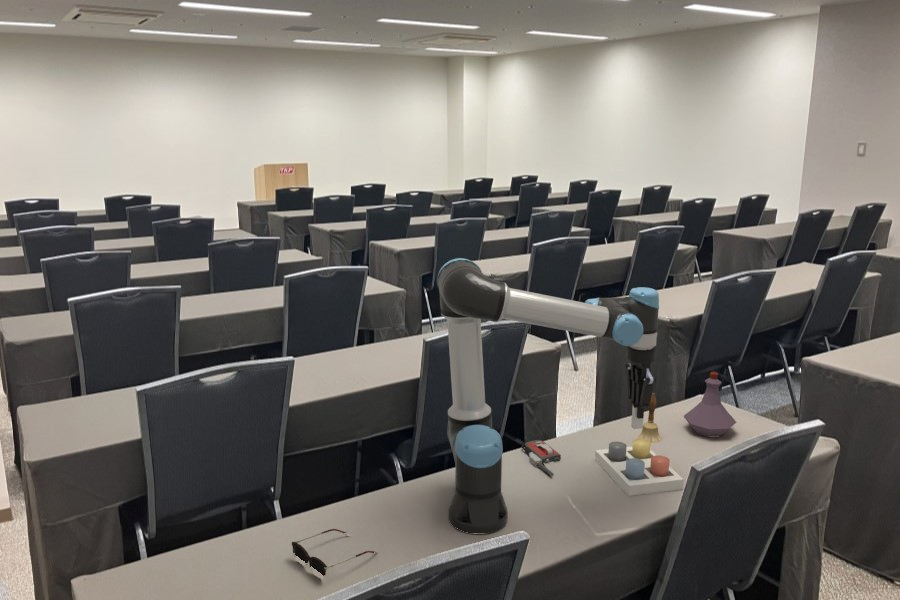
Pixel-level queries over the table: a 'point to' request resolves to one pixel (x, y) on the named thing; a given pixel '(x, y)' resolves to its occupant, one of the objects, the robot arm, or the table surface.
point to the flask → (710, 411)
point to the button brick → (659, 466)
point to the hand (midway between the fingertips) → (637, 427)
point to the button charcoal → (617, 451)
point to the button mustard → (641, 449)
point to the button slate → (634, 469)
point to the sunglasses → (315, 561)
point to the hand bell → (650, 424)
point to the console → (638, 486)
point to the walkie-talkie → (541, 454)
